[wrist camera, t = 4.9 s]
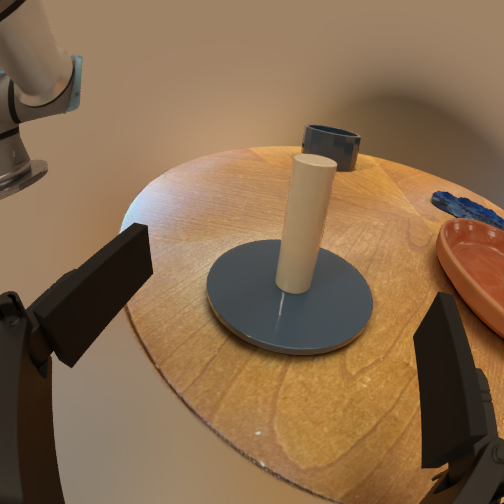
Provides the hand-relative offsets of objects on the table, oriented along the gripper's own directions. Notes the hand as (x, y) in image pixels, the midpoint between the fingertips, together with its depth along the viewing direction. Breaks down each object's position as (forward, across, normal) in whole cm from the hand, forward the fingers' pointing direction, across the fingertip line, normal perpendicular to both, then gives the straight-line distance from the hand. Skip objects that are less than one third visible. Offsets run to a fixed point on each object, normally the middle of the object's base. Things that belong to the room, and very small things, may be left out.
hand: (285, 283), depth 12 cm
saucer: (+15, +25, -7) cm, 30 cm away
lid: (+7, 0, -6) cm, 9 cm away
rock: (+40, +30, -7) cm, 50 cm away
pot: (+51, +1, -7) cm, 51 cm away
